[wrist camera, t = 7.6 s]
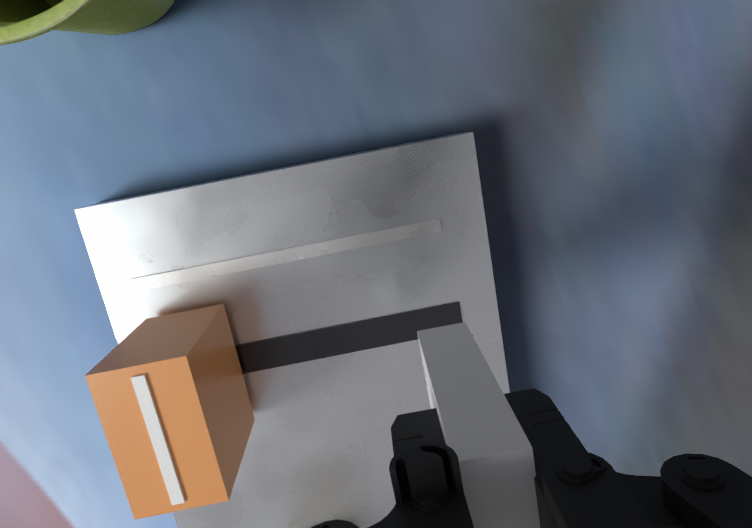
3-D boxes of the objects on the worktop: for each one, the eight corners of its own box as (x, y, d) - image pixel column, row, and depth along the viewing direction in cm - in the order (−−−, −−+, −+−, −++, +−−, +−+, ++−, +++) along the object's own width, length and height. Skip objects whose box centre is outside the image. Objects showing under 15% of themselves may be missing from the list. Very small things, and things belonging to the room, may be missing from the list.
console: (461, 132, 22) (474, 132, 20) (530, 605, 28) (545, 643, 26) (98, 202, 22) (72, 209, 20) (243, 663, 28) (234, 705, 26)
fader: (223, 303, 21) (185, 357, 16) (254, 419, 22) (228, 502, 17) (146, 318, 21) (83, 377, 16) (181, 433, 22) (133, 521, 17)
